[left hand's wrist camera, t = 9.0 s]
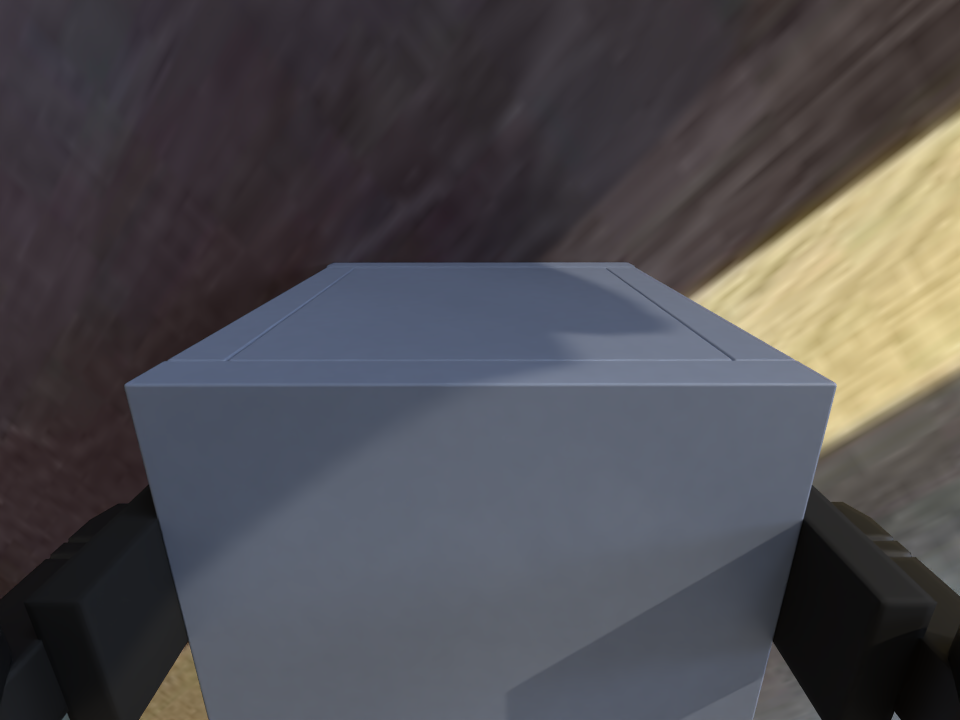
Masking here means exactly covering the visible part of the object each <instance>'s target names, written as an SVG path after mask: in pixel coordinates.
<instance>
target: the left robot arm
mask: <svg viewBox="0 0 960 720" xmlns="http://www.w3.org/2000/svg"><path fill="white" fill-rule="evenodd" d="M187 642H188V636H187V632H186V628H185V625H184V621H183V617H182V613H181V609H180V605H179V601H178V597H177V593H176V589H175V585H174V581H173V577H172V573H171V569H170V565H169V561H168V557H167V554H166V550H165V546H164V542H163V538H162V534H161V530H160V526H159V522H158V518H157V514H156V510H155V506H154V502H153V498H152V494H151V490H150V487H149V485H148V486H147V487H146V488H145V489H144V490H142V491H141V492H140V493H139V494H138V495H137V496H136V497H135V498H134V499H133V500H132V501H131V502H130V503H129V504H117V505H115V506H113V507H112V508H110V509H108V510H106V511H105V512H103V513H101V514H99V515H98V516H96V517H94V518H92V519H91V520H89V521H88V522H87V523H86V524H85V525H84V526H83V527H81V528H80V529H79V530H78V531H77V532H76V533H75V534H74V535H72V536H71V537H70V538H69V541H68V543H63V544H62V545H61V546H60V547H59V548H58V549H57V550H56V551H54V552H53V553H52V554H51V557H50V559H45V560H44V561H43V562H42V563H41V564H40V565H39V566H38V567H36V568H35V569H34V570H33V571H32V572H31V573H30V574H29V575H27V576H26V577H25V578H24V579H23V580H22V581H21V582H20V583H18V584H17V585H16V586H15V587H14V588H13V589H12V590H11V591H9V592H8V593H7V594H6V595H5V596H4V597H3V598H2V599H0V720H62V719H63V718H64V716H65V715H66V714H68V717H69V719H70V720H139V719H140V717H141V715H142V714H143V712H144V711H145V709H146V707H147V706H148V704H149V703H150V701H151V699H152V698H153V696H154V695H155V693H156V691H157V690H158V688H159V687H160V685H161V683H162V682H163V680H164V679H165V677H166V675H167V674H168V672H169V671H170V669H171V667H172V666H173V664H174V663H175V661H176V659H177V658H178V656H179V655H180V653H181V651H182V650H183V648H184V647H185V645H186V643H187ZM773 642H774V644H775V646H776V647H777V649H778V650H779V652H780V654H781V655H782V657H783V658H784V660H785V662H786V663H787V665H788V666H789V668H790V670H791V671H792V673H793V674H794V676H795V678H796V679H797V681H798V682H799V684H800V686H801V687H802V689H803V690H804V692H805V694H806V695H807V697H808V698H809V700H810V702H811V703H812V705H813V706H814V708H815V710H816V711H817V713H818V714H819V716H820V718H821V719H822V720H891V719H892V716H893V714H894V711H895V713H896V714H897V715H898V717H899V718H900V719H901V720H960V596H959V595H958V594H957V593H955V592H954V591H953V590H952V589H951V588H950V587H949V586H947V585H946V584H945V583H944V582H943V581H942V580H941V579H940V578H938V577H937V576H936V575H935V574H934V573H933V572H932V571H930V570H929V569H928V568H927V567H926V566H925V565H924V564H923V563H921V562H920V561H919V560H918V559H917V558H916V557H911V553H910V552H909V551H908V550H907V549H906V548H904V547H903V546H902V545H901V544H900V543H899V542H898V541H893V537H892V536H891V535H890V534H889V533H887V532H886V531H885V530H884V529H883V528H882V527H881V526H880V525H878V524H877V523H876V522H875V521H874V520H873V519H872V518H870V517H868V516H867V515H865V514H863V513H861V512H859V511H858V510H856V509H854V508H852V507H851V506H849V505H847V504H845V503H844V502H830V501H829V500H828V499H827V498H826V497H825V496H823V495H822V494H821V493H820V492H819V491H818V490H817V489H816V488H815V487H814V486H813V485H812V486H811V490H810V494H809V498H808V502H807V506H806V510H805V514H804V518H803V522H802V526H801V530H800V534H799V538H798V542H797V546H796V550H795V554H794V558H793V562H792V566H791V570H790V574H789V578H788V582H787V586H786V590H785V594H784V598H783V602H782V606H781V610H780V614H779V618H778V622H777V626H776V630H775V634H774V638H773Z"/></svg>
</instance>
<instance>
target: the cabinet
mask: <svg viewBox="0 0 960 720" xmlns="http://www.w3.org/2000/svg"><path fill="white" fill-rule="evenodd" d="M124 388H125V392H126V396H127V400H128V404H129V408H130V412H131V416H132V419H133V423H134V427H135V431H136V435H137V439H138V443H139V447H140V451H141V455H142V459H143V463H144V467H145V471H146V475H147V479H148V483H149V487H150V490H151V494H152V498H153V502H154V506H155V510H156V514H157V518H158V522H159V526H160V530H161V534H162V538H163V542H164V546H165V550H166V554H167V557H168V561H169V565H170V569H171V573H172V577H173V581H174V585H175V589H176V593H177V597H178V601H179V605H180V609H181V613H182V617H183V621H184V625H185V628H186V632H187V636H188V640H189V644H190V648H191V652H192V656H193V660H194V664H195V668H196V672H197V676H198V680H199V684H200V688H201V692H202V695H203V699H204V703H205V707H206V711H207V715H208V719H209V720H753V717H754V713H755V709H756V705H757V701H758V697H759V693H760V689H761V685H762V681H763V677H764V673H765V669H766V665H767V661H768V657H769V653H770V649H771V645H772V641H773V638H774V634H775V630H776V626H777V622H778V618H779V614H780V610H781V606H782V602H783V598H784V594H785V590H786V586H787V582H788V578H789V574H790V570H791V566H792V562H793V558H794V554H795V550H796V546H797V542H798V538H799V534H800V530H801V526H802V522H803V518H804V514H805V510H806V506H807V502H808V498H809V494H810V490H811V486H812V482H813V478H814V474H815V470H816V466H817V462H818V458H819V454H820V450H821V446H822V442H823V438H824V434H825V430H826V426H827V422H828V418H829V414H830V410H831V406H832V402H833V398H834V394H835V390H836V383H834V382H833V381H831V380H829V379H828V378H826V377H824V376H822V375H821V374H819V373H817V372H815V371H814V370H812V369H810V368H808V367H807V366H805V365H803V364H802V363H800V362H798V361H795V360H794V359H793V358H791V357H789V356H787V355H786V354H784V353H782V352H780V351H779V350H777V349H775V348H774V347H772V346H770V345H768V344H767V343H765V342H763V341H761V340H760V339H758V338H756V337H754V336H753V335H751V334H749V333H748V332H746V331H744V330H742V329H741V328H739V327H737V326H735V325H734V324H732V323H730V322H728V321H727V320H725V319H723V318H722V317H720V316H718V315H716V314H715V313H713V312H711V311H709V310H708V309H706V308H704V307H702V306H701V305H699V304H697V303H696V302H694V301H692V300H690V299H689V298H687V297H685V296H683V295H682V294H680V293H678V292H676V291H675V290H673V289H671V288H670V287H668V286H666V285H664V284H663V283H661V282H659V281H657V280H656V279H654V278H652V277H651V276H649V275H647V274H645V273H644V272H642V271H640V270H638V269H637V268H635V267H634V266H633V265H632V264H630V263H628V262H591V263H332V264H330V265H328V266H326V269H324V270H322V271H320V272H319V273H317V274H315V275H313V276H312V277H310V278H308V279H306V280H305V281H303V282H301V283H300V284H298V285H296V286H294V287H293V288H291V289H289V290H288V291H286V292H284V293H282V294H281V295H279V296H277V297H275V298H274V299H272V300H270V301H269V302H267V303H265V304H263V305H262V306H260V307H258V308H257V309H255V310H253V311H251V312H250V313H248V314H246V315H244V316H243V317H241V318H239V319H238V320H236V321H234V322H232V323H231V324H229V325H227V326H226V327H224V328H222V329H220V330H219V331H217V332H215V333H213V334H212V335H210V336H208V337H207V338H205V339H203V340H201V341H200V342H198V343H196V344H194V345H193V346H191V347H189V348H188V349H186V350H184V351H182V352H181V353H179V354H177V355H176V356H174V357H172V358H170V359H169V360H168V361H164V362H162V363H160V364H159V365H157V366H155V367H153V368H152V369H150V370H148V371H146V372H145V373H143V374H141V375H140V376H138V377H136V378H134V379H133V380H131V381H129V382H127V383H126V384H125V385H124Z"/></svg>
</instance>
